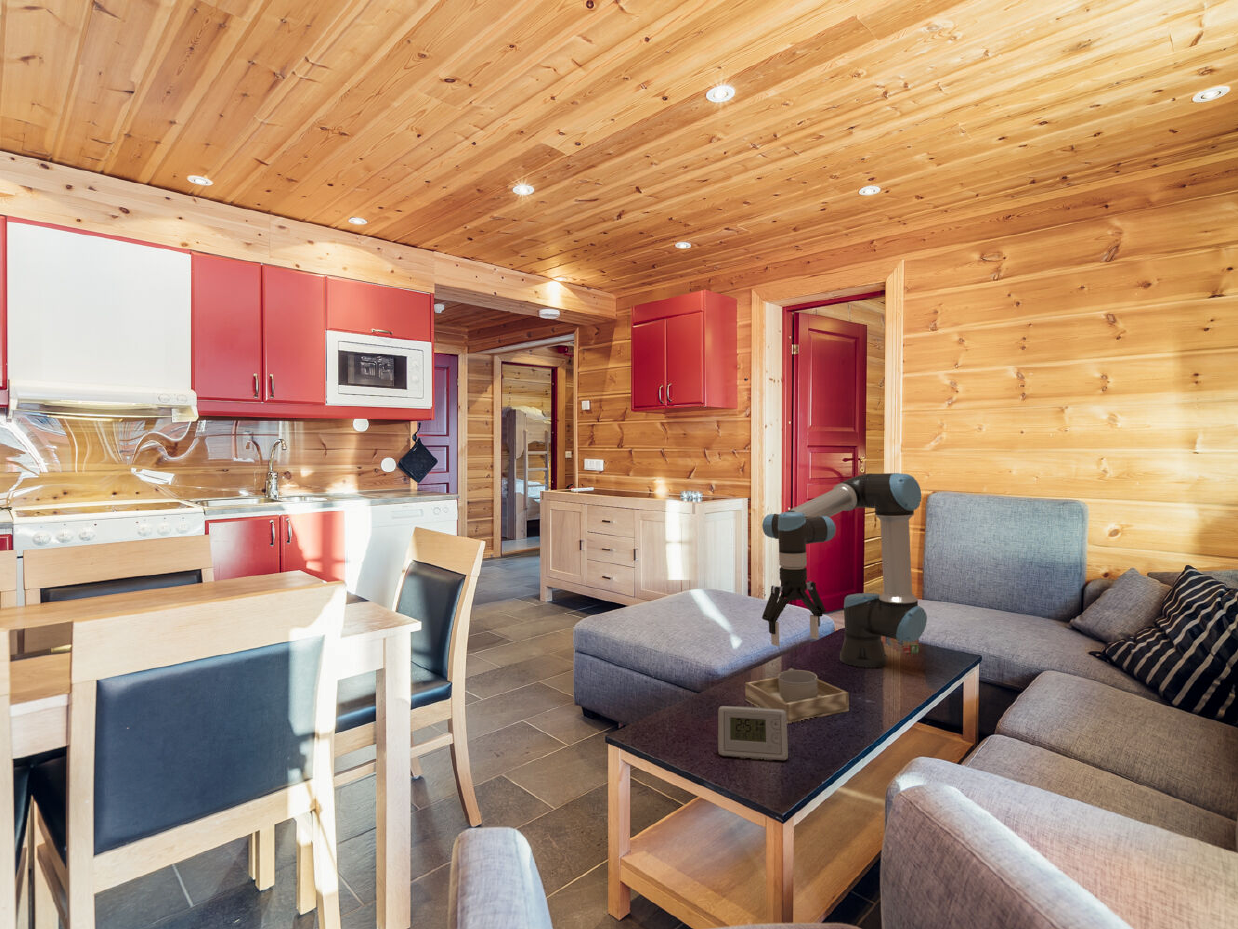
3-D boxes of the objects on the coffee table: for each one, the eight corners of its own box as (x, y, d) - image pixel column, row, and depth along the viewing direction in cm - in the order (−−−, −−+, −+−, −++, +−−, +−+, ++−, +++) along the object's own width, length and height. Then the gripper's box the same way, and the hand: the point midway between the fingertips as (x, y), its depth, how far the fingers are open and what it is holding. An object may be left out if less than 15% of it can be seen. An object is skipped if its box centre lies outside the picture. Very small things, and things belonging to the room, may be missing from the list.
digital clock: (714, 756, 150) (713, 711, 150) (724, 741, 158) (723, 698, 158) (785, 768, 143) (784, 721, 143) (791, 752, 151) (790, 707, 151)
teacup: (820, 712, 172) (819, 682, 172) (778, 709, 175) (778, 680, 175) (815, 693, 186) (814, 666, 186) (777, 691, 188) (776, 664, 188)
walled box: (804, 689, 193) (803, 672, 193) (848, 710, 175) (848, 692, 175) (745, 700, 185) (745, 682, 185) (786, 724, 167) (785, 705, 167)
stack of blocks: (873, 638, 248) (873, 606, 248) (889, 637, 248) (888, 605, 248) (902, 654, 226) (902, 619, 226) (919, 653, 227) (918, 619, 227)
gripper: (819, 561, 188) (821, 632, 189) (748, 569, 179) (750, 644, 179) (837, 564, 182) (839, 638, 182) (764, 573, 172) (766, 651, 172)
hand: (795, 641), depth 180 cm, fingers open, 13 cm apart
